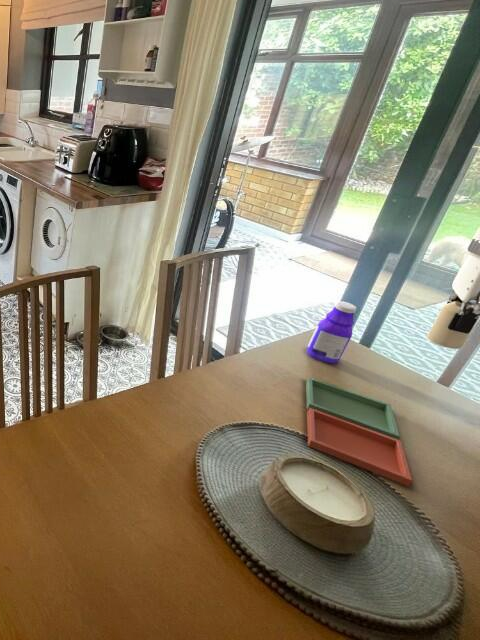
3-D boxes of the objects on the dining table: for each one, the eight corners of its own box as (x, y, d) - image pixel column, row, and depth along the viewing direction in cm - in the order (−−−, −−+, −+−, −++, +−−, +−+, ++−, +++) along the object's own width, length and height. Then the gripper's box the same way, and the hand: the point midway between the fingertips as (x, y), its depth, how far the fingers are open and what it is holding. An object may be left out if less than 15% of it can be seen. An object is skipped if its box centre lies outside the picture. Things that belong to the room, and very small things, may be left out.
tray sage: (386, 410, 97) (390, 404, 97) (395, 443, 89) (399, 436, 88) (305, 382, 106) (308, 376, 105) (306, 410, 97) (309, 403, 96)
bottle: (336, 356, 116) (361, 304, 108) (339, 367, 111) (366, 313, 104) (304, 347, 119) (327, 296, 112) (306, 358, 115) (330, 305, 107)
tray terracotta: (396, 447, 88) (401, 440, 87) (407, 487, 79) (412, 480, 78) (306, 413, 96) (309, 407, 95) (307, 447, 88) (311, 440, 87)
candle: (420, 337, 96) (440, 300, 92) (435, 333, 97) (456, 296, 93) (451, 351, 91) (474, 312, 87) (467, 347, 92) (490, 308, 88)
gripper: (542, 269, 76) (491, 349, 84) (508, 242, 89) (466, 314, 96) (482, 259, 80) (439, 336, 88) (458, 235, 93) (421, 304, 100)
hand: (454, 323), depth 92 cm, fingers closed on candle, 5 cm apart
